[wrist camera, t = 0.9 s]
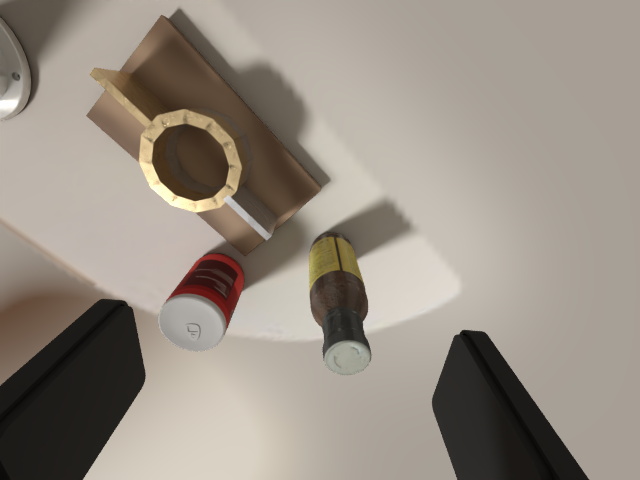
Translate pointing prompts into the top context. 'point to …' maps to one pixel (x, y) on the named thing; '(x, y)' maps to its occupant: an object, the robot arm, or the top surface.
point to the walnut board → (198, 144)
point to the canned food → (202, 303)
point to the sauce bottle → (339, 303)
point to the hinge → (165, 163)
